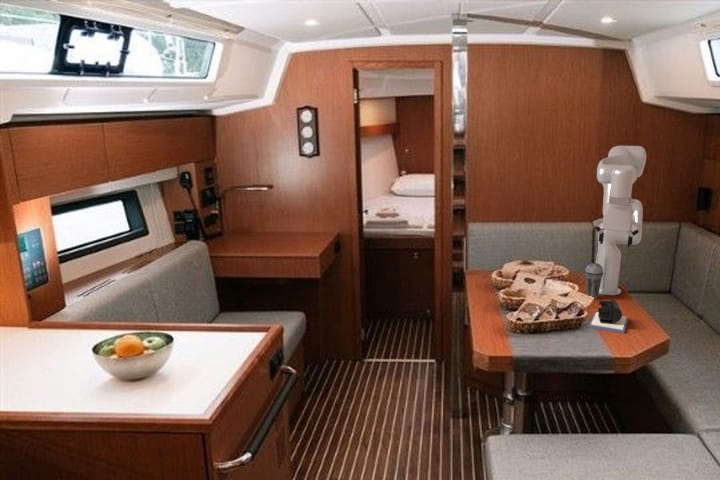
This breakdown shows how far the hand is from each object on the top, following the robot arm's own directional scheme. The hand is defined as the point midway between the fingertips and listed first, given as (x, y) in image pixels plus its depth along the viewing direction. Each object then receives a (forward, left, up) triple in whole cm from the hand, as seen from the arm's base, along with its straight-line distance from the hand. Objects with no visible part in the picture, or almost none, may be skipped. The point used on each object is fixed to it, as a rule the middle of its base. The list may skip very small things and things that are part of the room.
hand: (614, 244), depth 224 cm
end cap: (+10, +2, -27) cm, 29 cm away
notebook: (+11, +2, -28) cm, 30 cm away
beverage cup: (-18, -8, -28) cm, 35 cm away
